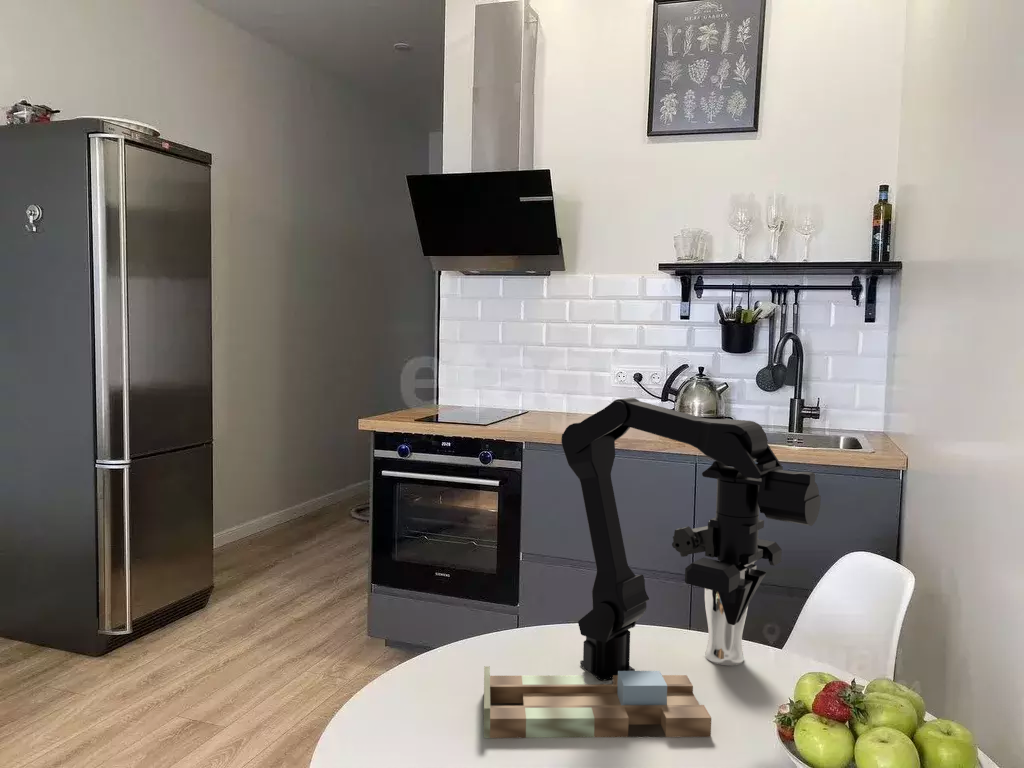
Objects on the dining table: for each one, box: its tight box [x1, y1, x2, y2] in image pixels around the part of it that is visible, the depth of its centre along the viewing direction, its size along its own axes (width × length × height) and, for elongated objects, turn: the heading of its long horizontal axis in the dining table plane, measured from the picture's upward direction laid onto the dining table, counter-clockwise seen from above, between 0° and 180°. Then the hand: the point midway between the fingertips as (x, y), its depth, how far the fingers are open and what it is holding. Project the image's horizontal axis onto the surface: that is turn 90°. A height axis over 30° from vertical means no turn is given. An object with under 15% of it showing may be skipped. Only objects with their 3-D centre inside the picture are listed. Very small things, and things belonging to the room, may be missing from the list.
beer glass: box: [704, 588, 749, 667], centre depth 125 cm, size 7×7×15 cm
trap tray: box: [483, 665, 712, 739], centre depth 107 cm, size 30×12×4 cm, turn 92°
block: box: [617, 670, 667, 705], centre depth 107 cm, size 6×4×4 cm
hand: (733, 622), depth 107 cm, fingers closed
